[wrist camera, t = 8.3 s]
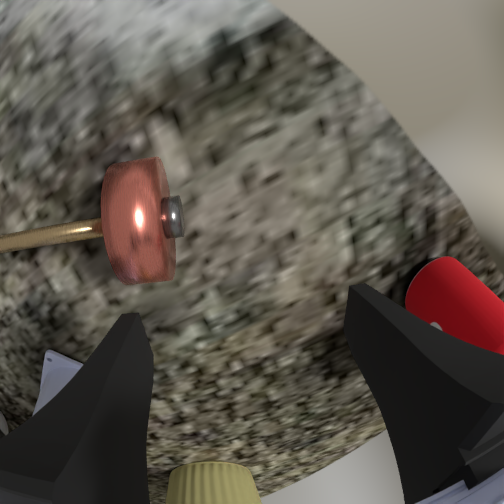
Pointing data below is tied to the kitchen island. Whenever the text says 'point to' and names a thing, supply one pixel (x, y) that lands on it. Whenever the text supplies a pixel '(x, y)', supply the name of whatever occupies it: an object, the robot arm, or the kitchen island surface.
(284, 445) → the kitchen island surface
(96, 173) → the kitchen island surface
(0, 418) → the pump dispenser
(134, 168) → the copper knob on rod
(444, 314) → the beverage can
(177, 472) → the potted cactus
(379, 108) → the kitchen island surface
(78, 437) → the robot arm
